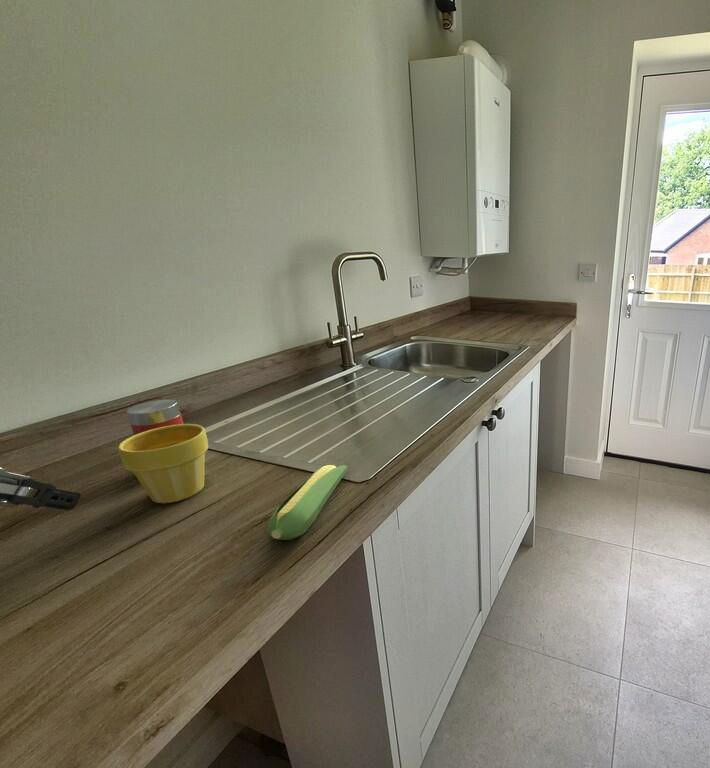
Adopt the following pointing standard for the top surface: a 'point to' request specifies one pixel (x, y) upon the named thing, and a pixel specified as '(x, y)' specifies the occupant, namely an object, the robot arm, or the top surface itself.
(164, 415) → the tin can
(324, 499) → the edible corn
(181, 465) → the flower pot
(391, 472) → the top surface
